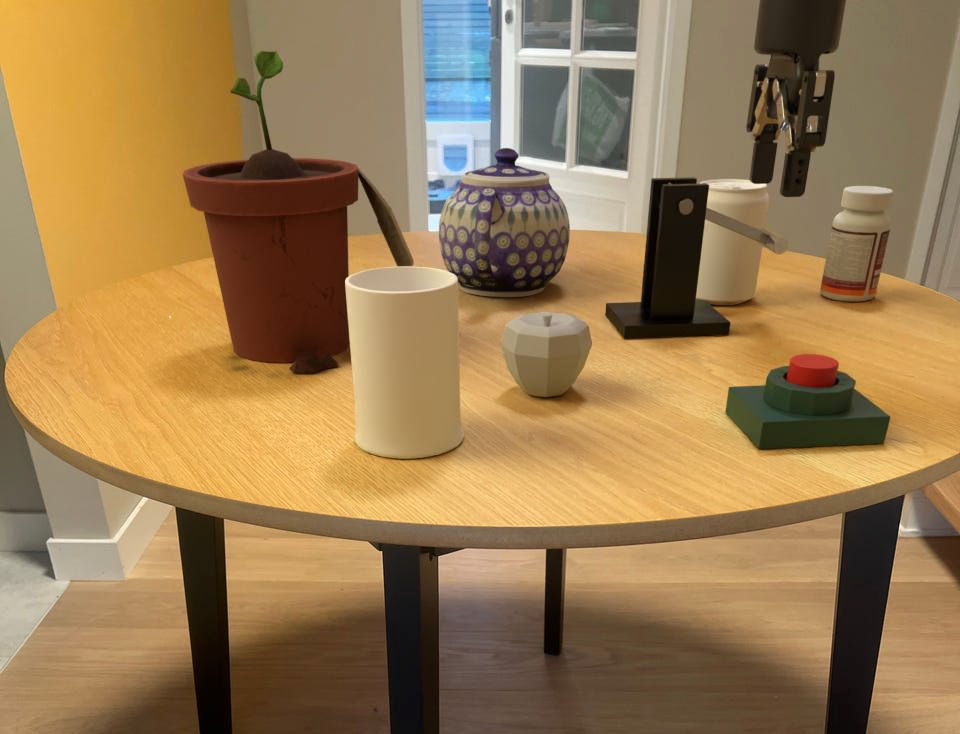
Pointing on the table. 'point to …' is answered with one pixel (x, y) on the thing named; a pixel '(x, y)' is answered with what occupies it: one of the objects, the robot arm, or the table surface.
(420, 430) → the mug
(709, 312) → the bracket
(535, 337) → the apple
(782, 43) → the robot arm
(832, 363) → the button
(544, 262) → the teapot
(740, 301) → the beverage can
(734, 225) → the lever
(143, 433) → the table surface
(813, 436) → the button box
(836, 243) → the pill bottle
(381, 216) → the potted plant
